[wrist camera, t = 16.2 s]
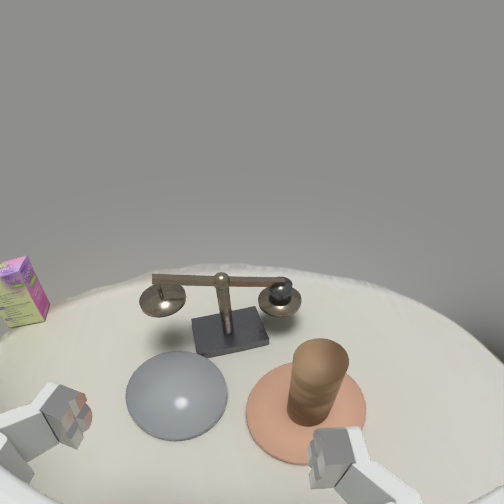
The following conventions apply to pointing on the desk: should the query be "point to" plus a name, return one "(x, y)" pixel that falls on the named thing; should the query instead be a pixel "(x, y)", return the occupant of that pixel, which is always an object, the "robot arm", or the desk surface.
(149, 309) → the balance
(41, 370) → the desk surface
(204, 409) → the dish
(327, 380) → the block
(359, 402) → the dish
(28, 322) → the box
